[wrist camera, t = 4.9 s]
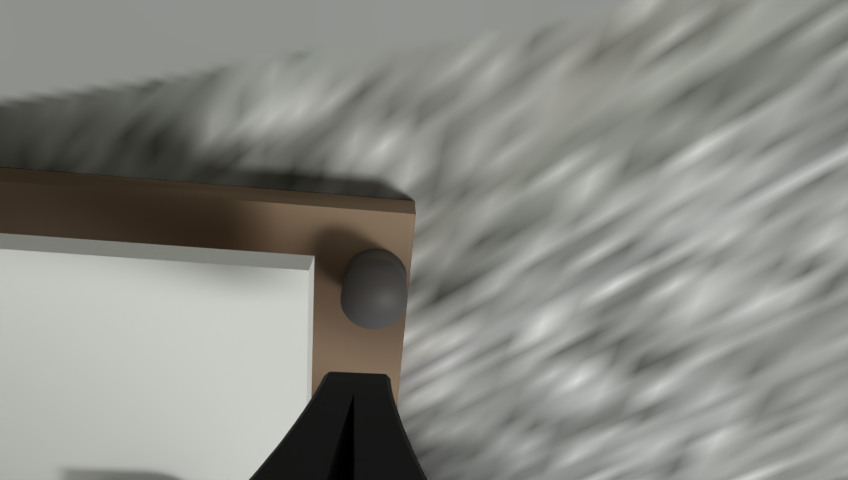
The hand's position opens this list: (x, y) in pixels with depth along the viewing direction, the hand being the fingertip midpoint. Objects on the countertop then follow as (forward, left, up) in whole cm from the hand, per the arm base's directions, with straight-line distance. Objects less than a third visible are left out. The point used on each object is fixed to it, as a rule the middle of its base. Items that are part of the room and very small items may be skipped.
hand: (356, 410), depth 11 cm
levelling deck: (-7, +7, -5) cm, 11 cm away
